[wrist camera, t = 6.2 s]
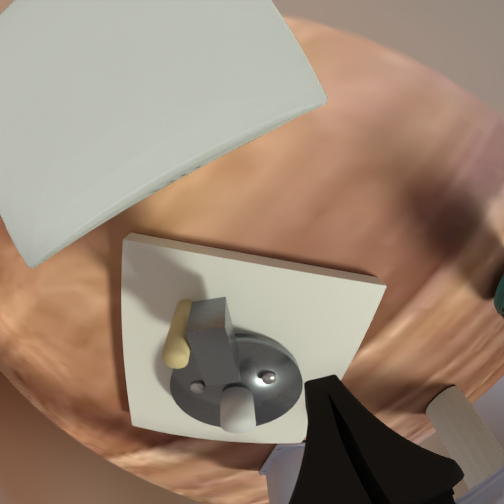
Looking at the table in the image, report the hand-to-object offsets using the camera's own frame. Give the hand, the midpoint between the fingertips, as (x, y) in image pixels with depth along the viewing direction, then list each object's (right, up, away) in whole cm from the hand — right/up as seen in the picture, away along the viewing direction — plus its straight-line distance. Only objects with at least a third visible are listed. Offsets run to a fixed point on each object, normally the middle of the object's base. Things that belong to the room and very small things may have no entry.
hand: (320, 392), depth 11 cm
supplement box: (-7, +14, +4) cm, 17 cm away
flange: (-4, -2, +9) cm, 10 cm away
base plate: (-4, -3, +11) cm, 12 cm away
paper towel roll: (+24, -15, +18) cm, 34 cm away
